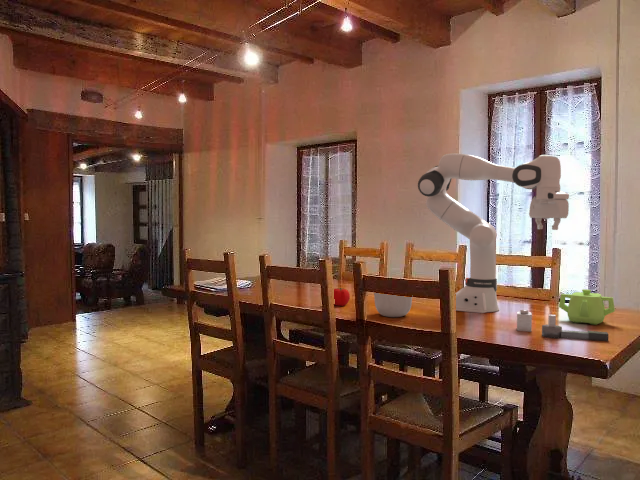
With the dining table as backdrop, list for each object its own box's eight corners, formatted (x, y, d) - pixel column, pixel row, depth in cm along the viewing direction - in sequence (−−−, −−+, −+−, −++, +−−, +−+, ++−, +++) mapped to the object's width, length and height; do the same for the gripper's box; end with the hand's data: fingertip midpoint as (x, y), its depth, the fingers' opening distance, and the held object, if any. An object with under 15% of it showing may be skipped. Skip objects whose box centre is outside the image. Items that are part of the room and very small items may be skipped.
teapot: (612, 330, 197) (613, 295, 196) (554, 324, 207) (555, 291, 206) (615, 321, 212) (616, 289, 211) (561, 316, 223) (561, 285, 222)
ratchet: (542, 337, 184) (542, 316, 184) (541, 333, 190) (541, 313, 190) (609, 342, 177) (609, 320, 177) (606, 338, 183) (606, 316, 183)
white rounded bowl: (375, 311, 235) (375, 277, 235) (413, 312, 232) (414, 278, 231) (371, 318, 219) (371, 281, 218) (412, 320, 215) (412, 283, 215)
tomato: (325, 305, 249) (325, 288, 248) (337, 302, 257) (337, 285, 257) (342, 307, 244) (342, 289, 243) (354, 304, 252) (354, 287, 252)
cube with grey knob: (516, 330, 196) (517, 311, 195) (516, 327, 200) (517, 309, 200) (531, 331, 194) (531, 312, 193) (531, 328, 198) (531, 309, 198)
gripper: (525, 196, 223) (524, 228, 224) (557, 194, 203) (556, 230, 204) (538, 196, 224) (538, 228, 225) (572, 194, 204) (571, 230, 205)
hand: (547, 229), depth 214 cm, fingers open, 8 cm apart
